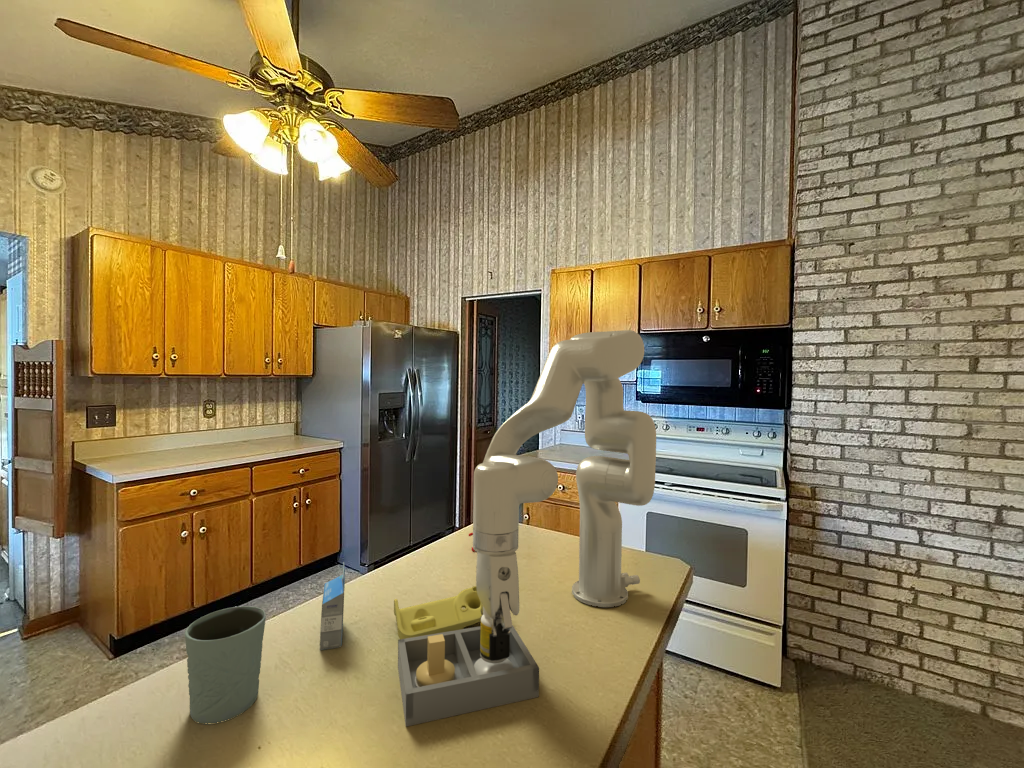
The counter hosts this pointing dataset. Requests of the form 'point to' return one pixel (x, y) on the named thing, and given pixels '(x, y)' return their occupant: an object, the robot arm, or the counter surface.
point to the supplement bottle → (487, 636)
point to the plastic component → (439, 615)
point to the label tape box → (332, 613)
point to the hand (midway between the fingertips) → (494, 647)
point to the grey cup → (224, 662)
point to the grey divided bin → (461, 675)
